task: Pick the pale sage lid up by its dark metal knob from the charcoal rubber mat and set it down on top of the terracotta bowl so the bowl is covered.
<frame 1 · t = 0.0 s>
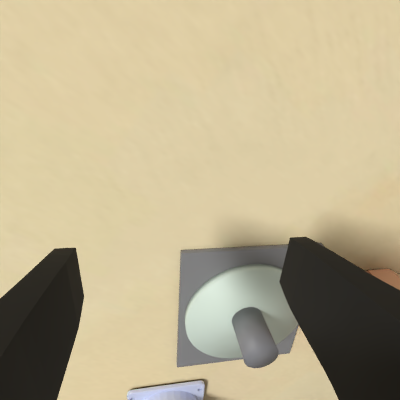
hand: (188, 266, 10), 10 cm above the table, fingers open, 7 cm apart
bowl: (363, 303, 29), on the table
lid: (244, 311, 26), resting on mat
mat: (243, 307, 26), on the table
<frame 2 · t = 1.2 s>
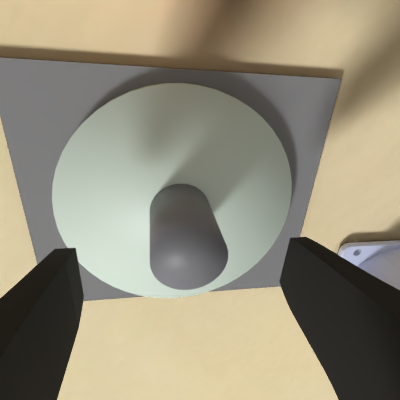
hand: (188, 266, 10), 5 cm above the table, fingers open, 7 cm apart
lid: (178, 203, 14), resting on mat
mat: (177, 199, 14), on the table
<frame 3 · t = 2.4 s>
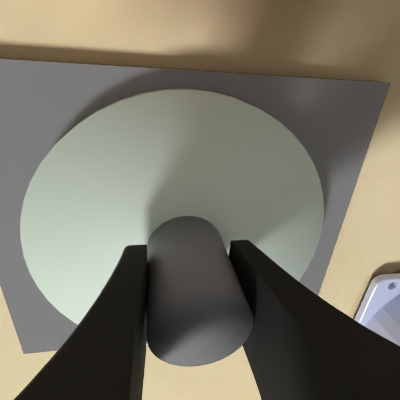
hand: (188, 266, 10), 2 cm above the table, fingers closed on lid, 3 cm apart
lid: (182, 236, 11), resting on mat, touching gripper
mat: (181, 230, 11), on the table
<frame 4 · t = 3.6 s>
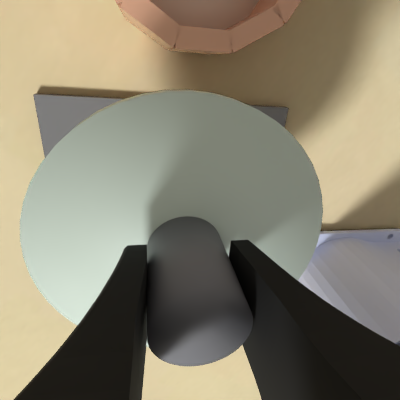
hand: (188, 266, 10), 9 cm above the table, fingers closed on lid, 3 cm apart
lid: (182, 236, 11), point 7 cm above the table, touching gripper
mat: (168, 196, 18), on the table
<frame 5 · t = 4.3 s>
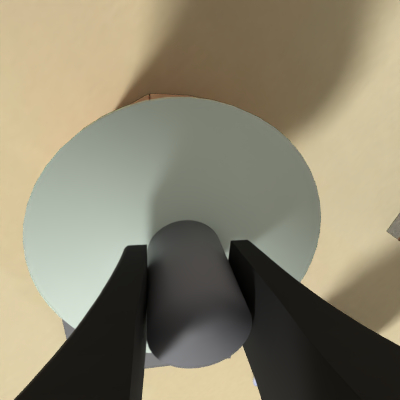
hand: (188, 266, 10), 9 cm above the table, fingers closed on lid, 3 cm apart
lid: (182, 241, 11), point 7 cm above the table, touching gripper
mat: (155, 317, 23), on the table
when the fingers open (7 cm above the table, at t = 4.9 s): lid stays where it is, resting on bowl.
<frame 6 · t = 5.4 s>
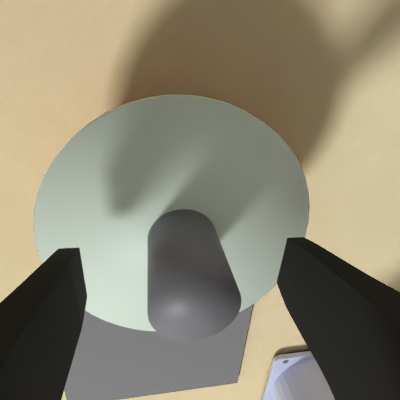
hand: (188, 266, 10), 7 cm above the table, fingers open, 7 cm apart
lid: (180, 228, 12), point 4 cm above the table, touching bowl
mat: (156, 342, 21), on the table
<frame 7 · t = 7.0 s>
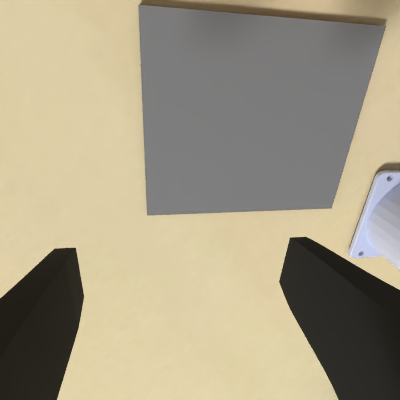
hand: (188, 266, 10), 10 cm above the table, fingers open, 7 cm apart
mat: (254, 127, 18), on the table
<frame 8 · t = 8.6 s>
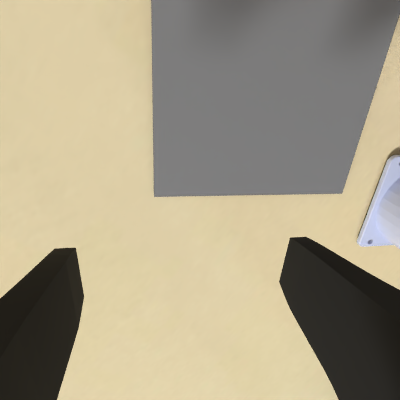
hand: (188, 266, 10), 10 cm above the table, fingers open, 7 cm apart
mat: (265, 106, 17), on the table
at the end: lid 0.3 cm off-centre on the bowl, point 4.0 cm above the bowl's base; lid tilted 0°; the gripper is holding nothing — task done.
